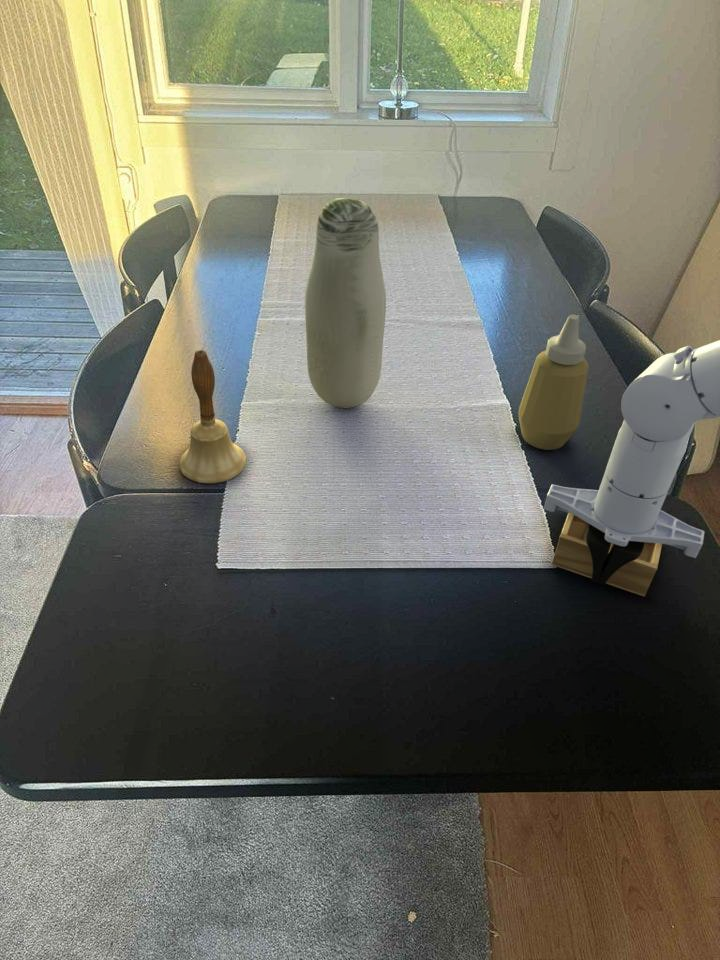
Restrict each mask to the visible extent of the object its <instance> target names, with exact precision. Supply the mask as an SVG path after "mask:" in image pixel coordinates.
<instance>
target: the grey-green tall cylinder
mask: <svg viewBox="0 0 720 960" xmlns="http://www.w3.org/2000/svg"><path fill="white" fill-rule="evenodd" d="M378 222H379V221H378V219H377V216H376V214H375V211H374V210H373V209H372V208H371V206H370V205H368V204H367V203H366V202H364V201H363V200H362V201H361V200H359V199H357V198H353V197H338V198H334V199H331V200H329V201H328V202H327V203H326V204H325V205H323V208H322V209H321V211H320V213H319V215H318V217H317V222H316V227H315V243H314V249H313V257H312V262H311V266H310V269H309V273H308V277H307V282H306V285H305V293H304V322H305V338H306V339H305V341H306V366H307V373H308V378H309V381H310V385H311V386H312V389H313V390H314V392H315V393H316V394H317V396H318V397H319V398H320V399H321V400H322V401H324V402H325V403H328V404H330V405H332V406H334V407H337V408H342V409H343V408H344V409H347V408H349V409H350V408H355V407H358V406H360V405H362V404H364V403H365V402H366V401H368V400H369V399H370V398H371V397H372V395H373V394H374V392H375V390H376V388H377V386H378V383H379V381H380V377H381V373H382V362H383V348H384V347H383V345H384V335H385V326H386V325H385V324H386V313H387V296H386V295H387V293H386V287H385V279H384V273H383V267H382V264H381V263H382V262H381V258H380V257H381V256H380V244H379V243H380V241H379V240H380V230H379V229H380V228H379V223H378Z"/></svg>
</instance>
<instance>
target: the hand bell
mask: <svg viewBox="0 0 720 960" xmlns="http://www.w3.org/2000/svg"><path fill="white" fill-rule="evenodd" d="M191 364H192V365H191V374H190V375H191V381H192V386H193V389H194V391H195V393H196V396H197V398H198V401H199V416H200V419H199V420H198V421H197V422H195V423H194V424H193V425H192V426H191V428H190V440H189V446H188V448H187V449H186V450H185V451H184V453H183V454H182V455H181V458H180V459H179V468H180V469H179V470H180V471H181V473H182V475H184V476H185V478H187V479H188V480H191V481H193V482H196V483H200V484H218V483H223V482H226V481H230V480H232V479H233V478H235V477H237V476H239V474H240V473H241V472H242V471H244V470H245V468H246V465H247V457H246V454H245V452H244V451H243V449H242V448H241V447H240V446H238V445H237V444H236V443H234V442H233V441H232V439H231V436H230V433H229V429H228V426H227V424H225V422H224V421H222V420H219V419H217V418H215V415H216V414H215V413H216V412H215V408H214V403H213V395H214V393H215V392H214V391H215V385H216V377H215V376H216V375H215V370H214V367H213V364H212V362H211V361H210V359H209V356H208V354H207V351H206V350H204V349H197V350H196V351H195V352H194V356H193V361H192V363H191Z"/></svg>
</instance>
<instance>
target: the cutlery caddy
mask: <svg viewBox="0 0 720 960" xmlns="http://www.w3.org/2000/svg"><path fill="white" fill-rule="evenodd" d="M588 527H589V523H587V522H585V521H584V520H582V519H580V518H579V517H577V516H575V515H573V514H570V513H567V516H566V519H565V522H564V524H563V527H562V530H561V533H560V535H559V539H558V540H557V541H558V542H557V545H556V549H555V552H554V555H553V557H552V560H551V566H553V567H557V568H560V569H563V570H566V571H567V572H568V571H569V572H571V573H575V574H577V575H580V576H583V577H586V578H588V579H589V578H590V579H592V574H593V564H592V557H591V553H590V550H589V547H588V545H587V543H586V533H587V530H588ZM612 546H613V543H611V546H610V550H611V548H612ZM662 547H663V544H659V543H648V542H645V544H644V548H643V551H642V553H641V555H640V556H639V557H638V558H637V559H636V560H633V561H631V562H629V563H627V564H625V565H624V566H622V567H621V568H619V569H618V570H617V571H616V572H615V573H614V574H613V575H612V576H611V577H610V578H609V579H608V580H607V582H606V583H605V585H610V586H612V587H615V588H618V589H621V590H623V591H627V592H630V593H632V594H636V595H639V596H641V597H645V596H646V594H647V592H648V590H649V588H650V586H651V584H652V582H653V579H654V578H655V577H654V576H655V574H656V572H657V571H658V566H659V561H660V557H661V553H662ZM610 550H609V552H610ZM609 552H608V554H609ZM608 554H607V556H608ZM607 556H606V558H607ZM605 560H606V559H605Z"/></svg>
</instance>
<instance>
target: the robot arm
mask: <svg viewBox="0 0 720 960" xmlns="http://www.w3.org/2000/svg"><path fill="white" fill-rule="evenodd" d="M620 411H621V415H622V417H623V421H622V424H621V427H620V428H619V430H618V431H617V436H616V438H615V441H614V444H613V447H612V450H611V452H610V456H609V458H608V461H607V465H606V467H605V471H604V474H603V476H602V479H601V482H600V485H599V489H589V488H588V489H587V488H576V487H567V486H561V485H557V484H554V483H551V485H550V487H549V490H548V492H547V494H546V499H545V502H544V505H543V510H545V511H548V512H550V513H554V512H556V510H558V511H561V512H564V513H567V514H568V513H570V514H573V515H575V516H577V517H579V518H580V519H582V520H584V521H585V522H587V523H589V527H588V530H587V533H586V543H587V545H588V547H589V550H590V553H591V557H592V564H593V574H592V578H590V580H591V581H592V582H594V583H596V584H599V585H603V586H605V585H606V582H607V580H608V579H609V578H610V577H611V576H612V575H613V574H614V573H615V572H616V571H617V570H618V569H619V568H621V567H622V566H624V565H625V564H627V563H629V562H631V561H633V560H636V559H637V558H638V557H639V556H640V555H641V553H642V551H643V548H644V544H645V542H648V543H659V544H662V545H668V546H670V547H673V548H676V549H680V550H683V554H684V555H685V556H687V557H691V558H694V559H696V558H697V557H698V555H699V553H700V551H701V549H702V547H703V544H704V538H705V530H703V529H699V528H697V527H694V526H692V525H689V524H687V523H686V522H684V521H682V520H680V519H678V518H677V517H675V516H673V515H671V514H669V513H667V512H666V511H664V510H662V507H663V506H664V502H665V500H666V498H667V495H668V494H669V491H670V490H671V489H670V488H671V486H672V484H673V481H674V478H675V477H676V475H677V472H678V470H679V467H680V465H681V462H682V460H683V458H684V456H685V453H686V452H687V451H686V450H687V448H688V447H687V446H688V442H689V439H690V437H691V434H692V432H693V429H694V427H695V425H696V422H697V421H699V420H709V419H710V420H711V419H716V418H720V339H719V340H716V341H713V342H710V343H707V344H705V345H702V346H699V347H697V348H694V349H693V347H692V346H691V345H686V346H684V347H683V346H682V347H681V348H679V349H677V351H675V352H669V353H666V354H664V355H661V356H659V357H658V358H657V359H655V360H654V361H653V362H652V363H651V364H650V365H649V366H648V367H647V368H646V369H644V370H643V372H642V373H640V374H639V375H638V376H637V377H636V378H635V379H634V380H633V381H631V383H630V384H629V385H628V386H627V388H626V389H625V391H624V393H623V394H622V397H621V401H620ZM611 543H613V546H612V548H611V550H610V546H611ZM609 550H610V552H609ZM608 552H609V554H608ZM607 554H608V556H607ZM606 556H607V558H606ZM605 559H606V560H605Z"/></svg>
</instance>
